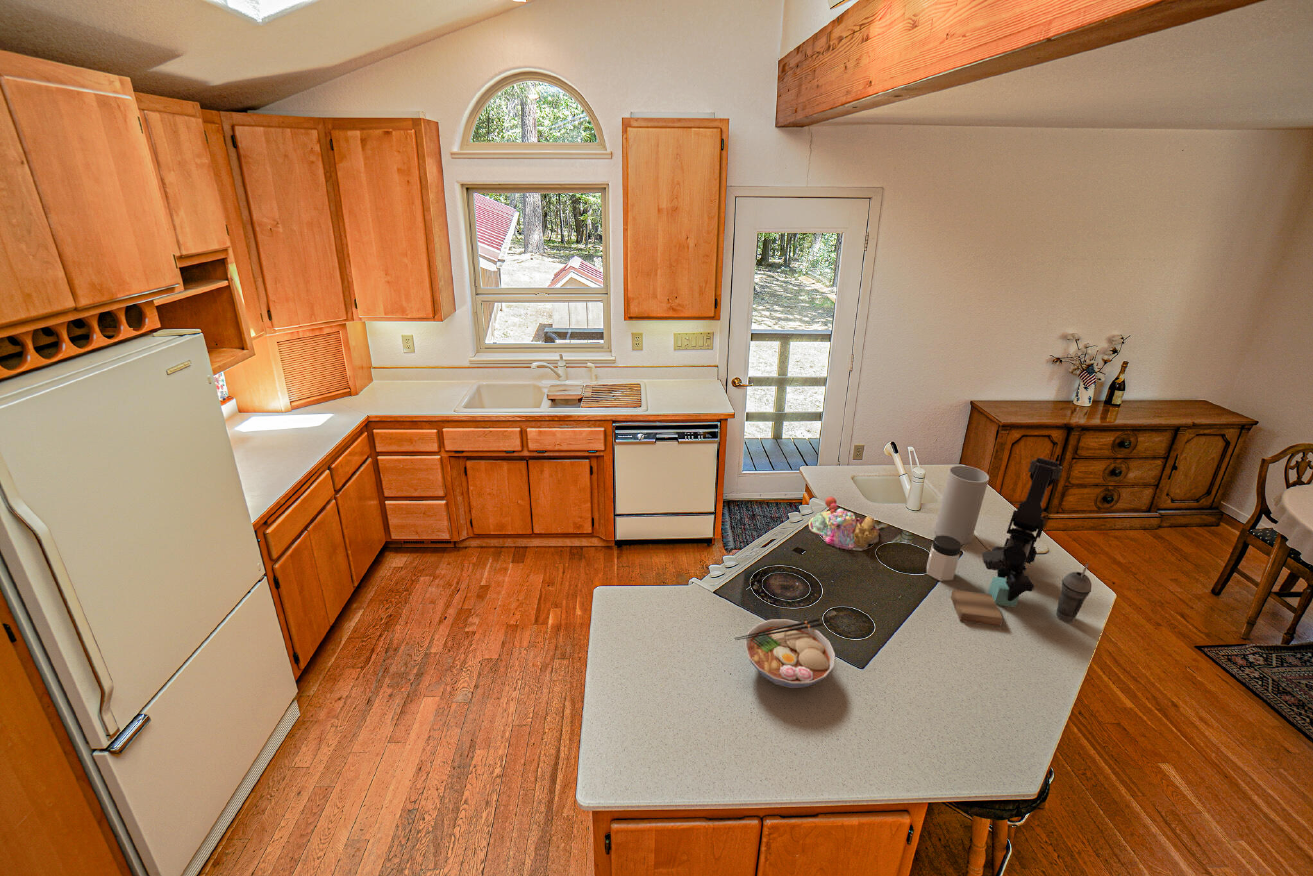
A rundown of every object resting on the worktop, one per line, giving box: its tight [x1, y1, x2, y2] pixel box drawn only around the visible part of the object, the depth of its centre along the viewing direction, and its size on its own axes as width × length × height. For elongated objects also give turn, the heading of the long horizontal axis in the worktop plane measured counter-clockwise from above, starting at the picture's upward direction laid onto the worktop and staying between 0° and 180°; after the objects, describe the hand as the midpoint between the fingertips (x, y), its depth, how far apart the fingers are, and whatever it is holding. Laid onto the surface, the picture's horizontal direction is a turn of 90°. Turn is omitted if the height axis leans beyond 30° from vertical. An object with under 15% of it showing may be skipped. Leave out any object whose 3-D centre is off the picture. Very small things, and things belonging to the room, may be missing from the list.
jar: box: [926, 535, 962, 582], centre depth 202 cm, size 9×8×12 cm
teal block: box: [988, 576, 1020, 608], centre depth 192 cm, size 6×6×6 cm
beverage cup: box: [1055, 562, 1092, 623], centre depth 182 cm, size 7×7×20 cm
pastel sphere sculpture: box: [808, 496, 880, 551], centre depth 224 cm, size 25×24×9 cm
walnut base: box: [950, 589, 1004, 627], centre depth 187 cm, size 11×11×3 cm
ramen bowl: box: [734, 617, 836, 689], centre depth 162 cm, size 25×23×8 cm
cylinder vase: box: [933, 464, 990, 545], centre depth 221 cm, size 12×12×25 cm
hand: (1004, 591), depth 192 cm, fingers open, 9 cm apart
